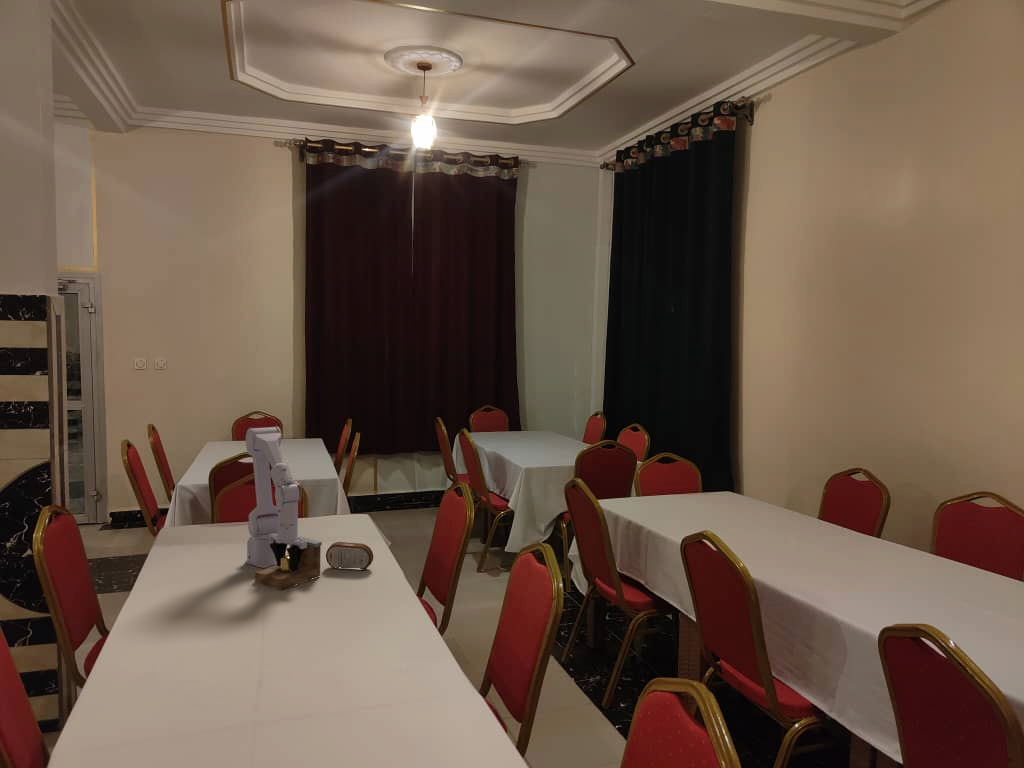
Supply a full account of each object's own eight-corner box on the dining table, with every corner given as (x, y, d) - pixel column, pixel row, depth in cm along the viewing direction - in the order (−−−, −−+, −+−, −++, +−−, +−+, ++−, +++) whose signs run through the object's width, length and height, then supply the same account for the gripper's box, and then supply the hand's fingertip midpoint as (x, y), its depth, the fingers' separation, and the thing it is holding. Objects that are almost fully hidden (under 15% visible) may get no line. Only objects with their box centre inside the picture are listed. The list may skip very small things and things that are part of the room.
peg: (278, 579, 214) (278, 557, 213) (288, 576, 217) (288, 554, 216) (285, 582, 212) (285, 559, 211) (295, 579, 214) (295, 556, 214)
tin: (373, 569, 226) (373, 543, 226) (370, 572, 223) (371, 546, 223) (327, 566, 228) (328, 540, 227) (324, 569, 225) (324, 543, 224)
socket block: (253, 581, 212) (254, 545, 211) (292, 568, 224) (292, 534, 223) (283, 590, 205) (284, 553, 204) (321, 576, 217) (321, 541, 217)
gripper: (260, 522, 213) (260, 566, 214) (294, 530, 206) (293, 576, 207) (279, 517, 219) (279, 560, 220) (312, 525, 212) (311, 569, 213)
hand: (287, 567), depth 214 cm, fingers open, 5 cm apart
